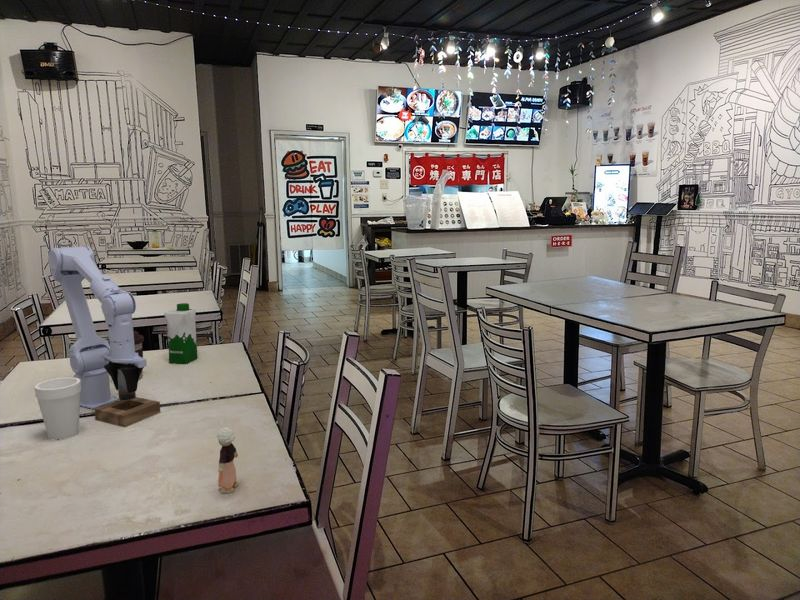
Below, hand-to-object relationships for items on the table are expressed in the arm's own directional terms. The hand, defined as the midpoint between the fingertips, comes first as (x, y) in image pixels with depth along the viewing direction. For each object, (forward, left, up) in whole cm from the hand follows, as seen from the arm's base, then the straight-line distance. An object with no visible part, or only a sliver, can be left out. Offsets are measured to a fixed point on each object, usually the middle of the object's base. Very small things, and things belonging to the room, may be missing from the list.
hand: (126, 390), depth 148 cm
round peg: (0, 0, -2) cm, 2 cm away
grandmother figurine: (+50, -18, -7) cm, 54 cm away
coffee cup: (-27, +22, -7) cm, 35 cm away
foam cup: (-4, -15, -7) cm, 17 cm away
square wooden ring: (0, 0, -7) cm, 7 cm away
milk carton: (-27, +44, -7) cm, 52 cm away
